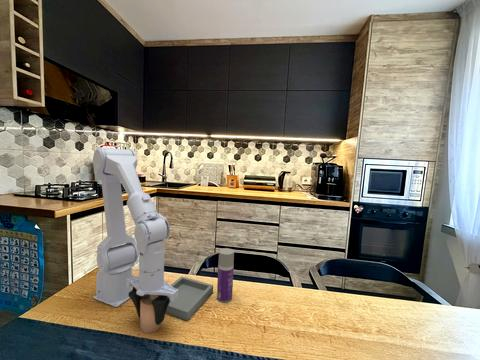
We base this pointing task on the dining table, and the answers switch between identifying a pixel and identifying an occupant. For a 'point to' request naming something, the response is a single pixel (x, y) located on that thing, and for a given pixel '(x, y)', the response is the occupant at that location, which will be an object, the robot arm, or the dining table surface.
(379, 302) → the dining table surface
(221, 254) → the container
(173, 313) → the tray
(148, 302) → the cup
